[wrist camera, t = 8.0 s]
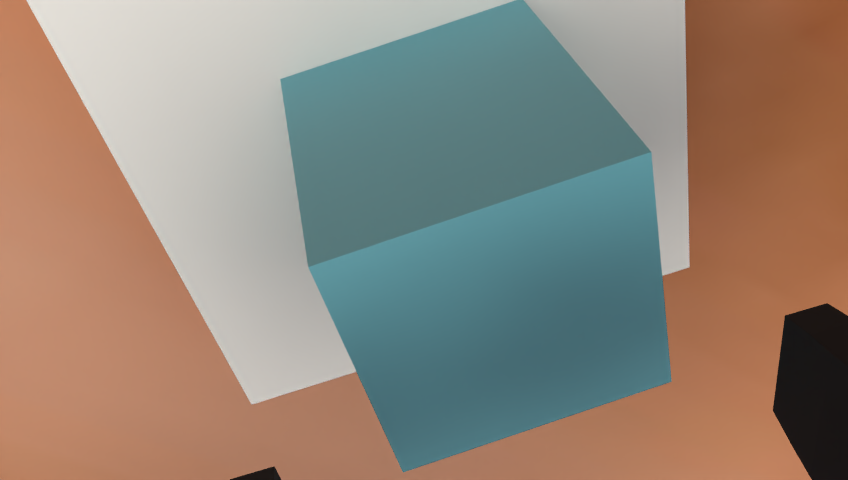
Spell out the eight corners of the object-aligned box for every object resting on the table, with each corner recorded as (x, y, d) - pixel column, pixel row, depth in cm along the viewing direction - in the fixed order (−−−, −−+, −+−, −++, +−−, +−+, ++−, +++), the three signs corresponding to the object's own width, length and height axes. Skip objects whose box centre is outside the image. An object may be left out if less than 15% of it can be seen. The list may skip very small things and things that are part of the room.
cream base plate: (247, 327, 23) (251, 404, 21) (32, -93, 16) (1, -46, 14) (642, 204, 24) (689, 267, 21) (612, -264, 16) (680, -247, 14)
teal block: (356, 264, 19) (402, 472, 14) (280, 78, 16) (308, 266, 11) (558, 196, 19) (671, 381, 14) (521, -2, 16) (651, 151, 11)
